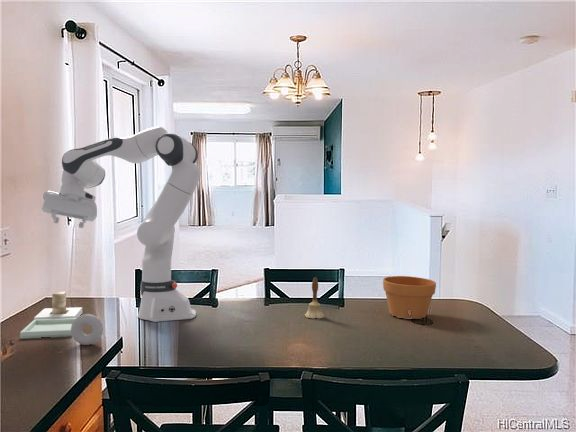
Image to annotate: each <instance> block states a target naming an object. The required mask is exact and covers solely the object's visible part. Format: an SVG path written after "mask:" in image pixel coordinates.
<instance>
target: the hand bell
mask: <svg viewBox="0 0 576 432" xmlns="http://www.w3.org/2000/svg"><path fill="white" fill-rule="evenodd" d="M311 289H312V302H310V303H308V308H307V311H306V313H305V314H304V315H305V316H306V317H308V318H322V317H324V318H325V315H324V314H323V313H322V309H321V304H320V303H319V302H318V291H319V281H318V278H317V277H313V279H312V282H311ZM308 318H307V319H308Z"/></svg>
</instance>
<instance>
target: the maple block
mask: <svg viewBox="0 0 576 432" xmlns="http://www.w3.org/2000/svg"><path fill="white" fill-rule="evenodd" d="M51 297H52V299H51V302H52V303H51V304H52V305H51V307H52V314H66V308H67V291H54V292H53V293H52V296H51Z"/></svg>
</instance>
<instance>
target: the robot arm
mask: <svg viewBox="0 0 576 432" xmlns="http://www.w3.org/2000/svg"><path fill="white" fill-rule="evenodd" d="M107 156H111V157H116V158H119V159H121V160H123V161H124V160H125V161H126V162H129V163H131V164H141V163H142V164H143V163H144V162H146V161H148V160H150V159H152V158H155V157H157V156H159V157H160V158H161V159H162V161H163V162H164V163H165V164H166V165H167V166H169V167H171V171H170V172H171V173H170V174H169V176H168V179H167V180H166V182H165V184H164V187H163V188H162V189H161V192H160V194H159V196H158V197H157V200H156V201H155V203H154V204H153V205H152V207H151V208H150V209H149V211H148V213H147V214H146V215H145V217H144V219H143V221H142V222H141V223H140V225H139V226H138V228H137V233H136V236H137V240H139V241H138V242H140V244H142V245H144V246H145V247H144V254H143V258H142V259H141V260H142V261H141V263H142V264H141V270H142V271H141V272H142V273H141V281H140V296H141V300H140V306H139V308H138V309H139V310H138V312H137V313H138V314H137V318H139V319H141V320H145V321H146V320H147V321H150V322H153V323H155V322H156V323H157V322H158V323H159V322H169V321H178V320H180V321H181V320H191V319H195V317H196V316H197V311H196V310H195V309H194V308H192V306H191V303H190V300H189V298H188V297H187V296H186V295H185V294H183V293H181V291H179V290H178V289H177V288H178V283H177V282H176V281H175V280H173V279H172V256H173V250H174V249H173V248H174V239H175V233H176V232H175V230H176V229H175V227H176V226H175V225H176V223H177V222H178V220H179V219H180V217H181V216H182V214H183V213H184V211H185V209H186V208H187V207H188V204H189V202H190V200H191V198H192V196H194V195H193V194H194V193H195V190H196V189H197V187H198V183H199V180H200V177H201V169H200V167H199V166H198V165H196V163H197V161H198V160H199V151H198V149H197V148H196V146H195V145H194V144H193V143H191V142H189V141H188V140H187V139H186V138H184V137H182V136H179V135H178V134H176V133H169V132H168V131H167V130H166V129H165V128H164V127H162V126H154V127H153V126H152V127H151V128H147V129H145V130H141V131H140V132H137V133H135V134H132V135H130V136H126V137H125V136H124V137H117V136H114V137H110V138H107V139H104V140H100V141H98V142H94V143H92V144H89V145H85V146H83V147H78V148H73V149H70V150H68V151H66V152H65V153H64V154H63V156H62V158H61V165H62V166H61V167H62V174H61V186H60V191H59V192H55V191H51V190H47V191H45V192H43V195H42V197H43V202H42V207H41V210H42V212H44V213H47V214H50V215H51V217H52V219H53V223H54V224H59V221H60V218H59V217H57V216H63V217H67V218H72V219H79V220H81V221H80V222H79V224H78V228H80V229H84V227H85V223H87V222H88V221H89V222H94V221H95V220H96V218H97V217H98V208H97V207H98V206H97V203H96V202H95V201H96V196H95V195H93V194H91V193H89V192H88V191H85V189H91V188H96V187H98V186H100V185H101V184H103V182H104V180H105V178H106V170H105V168H104V167H103V166H102V165H100V163H98V162H96V161H95V160H97V159H98V158H99V159H100V158H102V157H107Z"/></svg>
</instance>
